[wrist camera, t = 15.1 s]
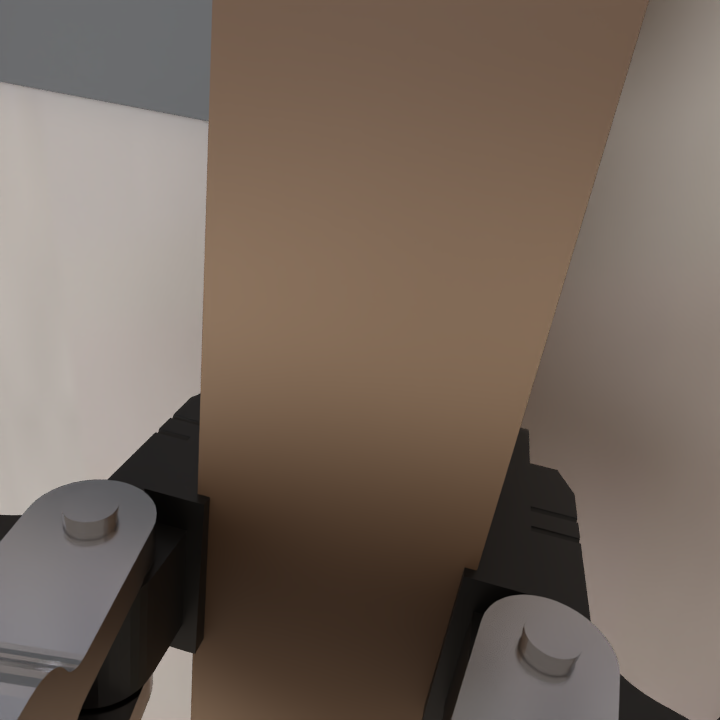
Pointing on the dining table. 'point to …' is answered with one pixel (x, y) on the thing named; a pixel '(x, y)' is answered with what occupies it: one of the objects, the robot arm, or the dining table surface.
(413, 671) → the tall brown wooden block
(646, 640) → the dining table surface
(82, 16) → the mat
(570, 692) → the robot arm
